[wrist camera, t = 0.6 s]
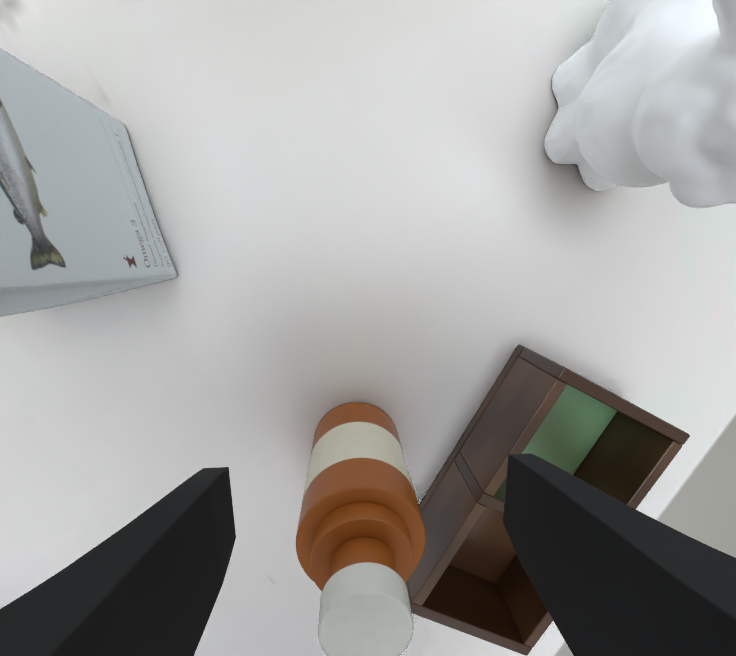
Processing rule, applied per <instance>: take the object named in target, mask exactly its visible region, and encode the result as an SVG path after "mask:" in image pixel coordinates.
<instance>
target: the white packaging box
mask: <svg viewBox="0 0 736 656" xmlns="http://www.w3.org/2000/svg"><path fill="white" fill-rule="evenodd" d="M176 276H177V273H176V271H175V268H174V266H173V263H172V261H171V258H170V256H169V254H168V251H167V248H166V246H165V243H164V241H163V238H162V235H161V233H160V230H159V227H158V225H157V222H156V219H155V216H154V213H153V211H152V208H151V205H150V202H149V199H148V196H147V193H146V190H145V187H144V184H143V180H142V177H141V175H140V172H139V169H138V166H137V163H136V159H135V156H134V153H133V150H132V147H131V143H130V140H129V136H128V133H127V130H126V127H125V125H124V124H123V123H122V122H120V121H119V120H117V119H116V118H114V117H112V116H111V115H109V114H107V113H106V112H104V111H103V110H101V109H99V108H98V107H96V106H94V105H93V104H91V103H90V102H88V101H86V100H85V99H83V98H82V97H80V96H78V95H77V94H75V93H73V92H72V91H70V90H68V89H67V88H65V87H63V86H62V85H60V84H58V83H57V82H55V81H54V80H52V79H51V78H49V77H48V76H46V75H44V74H42V73H40V72H39V71H37V70H36V69H34V68H32V67H31V66H29V65H27V64H26V63H24V62H22V61H21V60H19V59H18V58H16V57H14V56H13V55H11V54H10V53H8V52H6V51H5V50H3V49H1V48H0V317H2V316H8V315H14V314H20V313H25V312H31V311H36V310H41V309H46V308H51V307H55V306H60V305H65V304H69V303H74V302H78V301H83V300H87V299H92V298H96V297H100V296H105V295H109V294H113V293H117V292H121V291H125V290H129V289H133V288H137V287H142V286H146V285H150V284H154V283H158V282H162V281H166V280H170V279H174V278H175V277H176Z"/></svg>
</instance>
